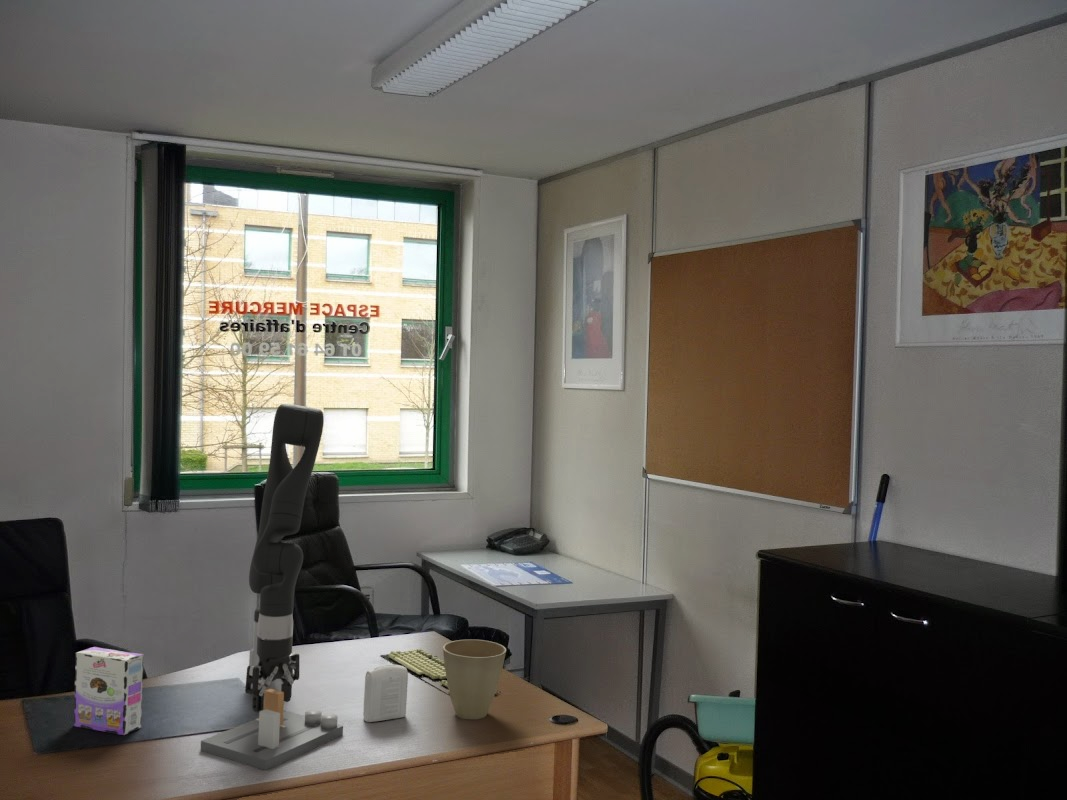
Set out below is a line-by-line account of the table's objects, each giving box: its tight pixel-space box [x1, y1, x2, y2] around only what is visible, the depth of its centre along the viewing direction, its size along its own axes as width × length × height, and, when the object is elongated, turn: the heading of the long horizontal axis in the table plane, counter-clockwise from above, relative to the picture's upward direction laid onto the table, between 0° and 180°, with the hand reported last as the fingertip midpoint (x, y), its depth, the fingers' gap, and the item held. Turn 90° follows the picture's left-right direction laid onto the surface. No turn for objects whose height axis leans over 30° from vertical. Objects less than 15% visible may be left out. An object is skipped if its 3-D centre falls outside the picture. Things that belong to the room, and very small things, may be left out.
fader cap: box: [263, 689, 285, 725], centre depth 224 cm, size 4×2×7 cm, turn 62°
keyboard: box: [380, 648, 502, 697], centre depth 272 cm, size 45×15×2 cm, turn 35°
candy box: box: [73, 646, 144, 736], centre depth 223 cm, size 14×6×16 cm, turn 71°
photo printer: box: [362, 663, 409, 723], centre depth 237 cm, size 10×4×12 cm, turn 123°
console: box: [200, 709, 344, 771], centre depth 219 cm, size 18×24×9 cm
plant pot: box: [442, 639, 507, 720], centre depth 242 cm, size 15×15×16 cm
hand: (271, 706), depth 224 cm, fingers open, 8 cm apart
